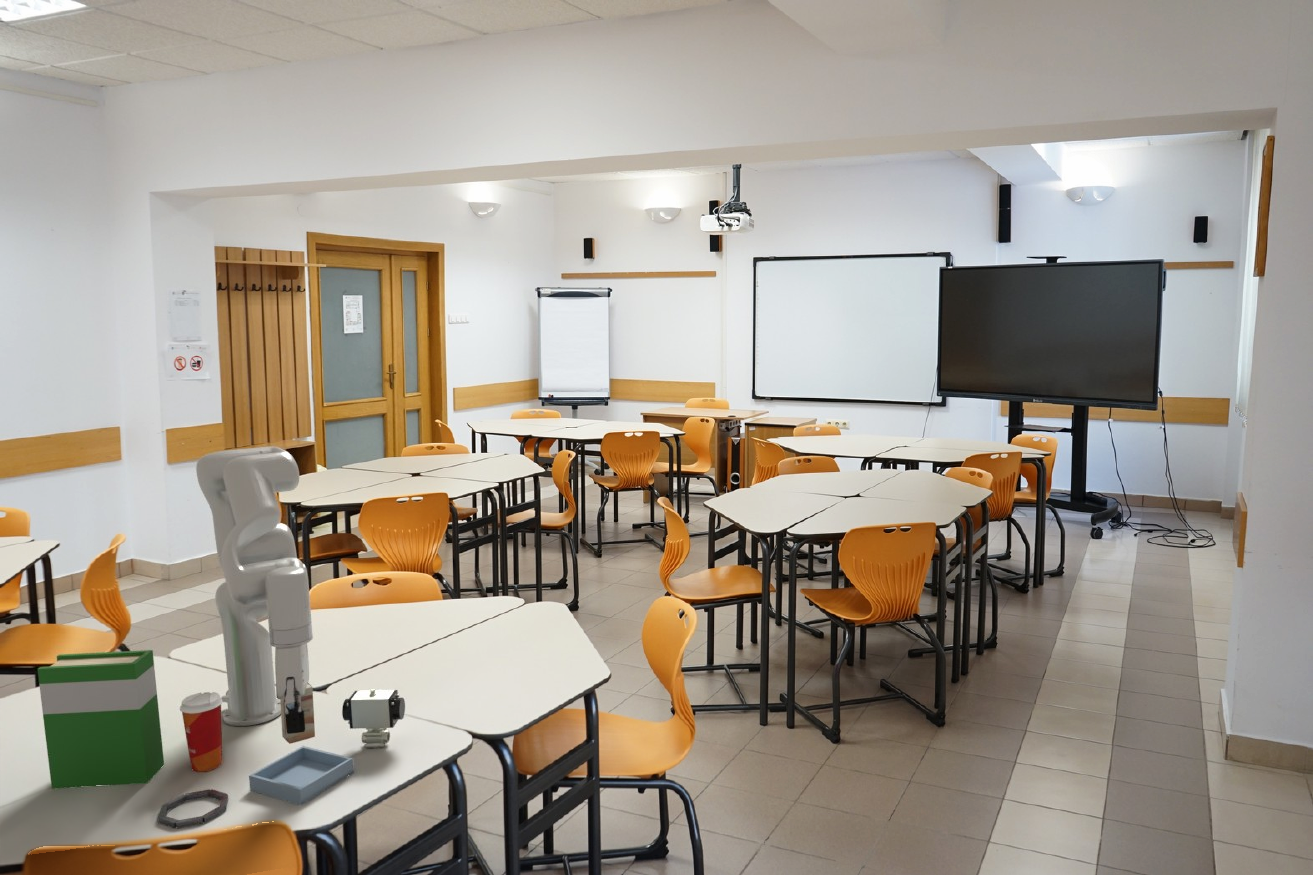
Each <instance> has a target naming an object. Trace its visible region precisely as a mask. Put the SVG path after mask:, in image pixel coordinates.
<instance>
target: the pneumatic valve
mask: <svg viewBox="0 0 1313 875" xmlns="http://www.w3.org/2000/svg"><path fill="white" fill-rule="evenodd" d="M341 711H342V712H341V715H342V719H343V721H346V722H347V721H348V722H347V724H348V725H349V729H350V730H351V729H352V730H353V729H365V730H364V731H363V732H362V734H361V742H362V744H364V745H363V746H364V748H366V749H374V748H375V749H380V748H384V747H385V744H388V743H389V742H390V739H391V732H390V731H389V730H387V729H391V728H392V729H393V728H394V727H395V726H396V724H397V723H398V721H399V720H403V719H404V717H405V714H406V713H405V712H406V702H405V698H404V697H400V694H399V692H398V689H381V688H380V689H378V690H377V689H376V688H373V689H369V690H354V692H353V693H352V694H351V695H350V697H349V698H345V700H343V704H342V709H341Z"/></svg>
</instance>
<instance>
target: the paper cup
mask: <svg viewBox="0 0 1313 875" xmlns="http://www.w3.org/2000/svg"><path fill="white" fill-rule="evenodd" d="M221 698H222V697H221V695H220V693H218V692H215V691H212V692H210V691H208V692H203V693H202V692H197V693H194V694H192V695H191V694H190V695H188V696H186V697H185V698H184V699H183V700H181V705H180V707H179V710H180V712H182V713H181V714H182V721H183V726H184V727H183V728H184V732H185V739H186V744H187V751H188V756H189V762H190V768H191V769H192V771H193V772H197V773H203V772H204V773H205V772H210V771H213V770H215V769H217V768H219V767H220V766H221V765H223V728H222V727H223V726H222V725H223V724H222V720H223V719H222V703H224V702H223V700H222V699H221ZM209 770H210V771H209Z"/></svg>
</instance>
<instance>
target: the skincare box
mask: <svg viewBox="0 0 1313 875" xmlns="http://www.w3.org/2000/svg"><path fill="white" fill-rule="evenodd" d="M313 688H314V687H313V686H312V685H311V684H310V683H309V682H308V684H307V688H306V692H305V694H304V695H303V696H302V711H303V710H304V719H305V731H304V732H300V733H292V734H288V733H287V729H286V717H285V713H286V708H285V694H284V696H283V698H281V699H280V702H281V714H280V718H281V734H282V735H281V736H282V738H283V739H284V740H285V742H286V743H288V744H289V745H291V744H294V743H295V744H296V743H298V742H303V741H305V740H308V739H312V738H315V737H316V729H315V728H316V727H315V711H314V710H315V709H314V693H313V692H314V690H313ZM297 695H299V692H296V693H295V696H297ZM295 702H297V703H298V699H295Z"/></svg>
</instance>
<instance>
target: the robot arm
mask: <svg viewBox="0 0 1313 875" xmlns="http://www.w3.org/2000/svg"><path fill="white" fill-rule="evenodd" d="M298 466H299V465H298V464H297V462H296V460H295V458H294V457H293V455H292V454H290V452H289V451H287V450H285V449H283V448H281V447H278V446H261V447H249V448H240V449H239V448H237V449H225V450H220V451H214V452H211V453H207V454H204V455H203V456H201V457H200V458H199V459H198V460H197V463H196V468H195V470H196V477H197V481H198V482H197V483H198V486H199V487H200V490H201V492H202V494H203V496H204V497H205V500H206V501H207V504H208V505H209V508H210V511H211V514H212V515H211V516H212V521H213V522H212V523H213V530H214V531H213V532H214V537H215V538H214V539H215V545H216V553H217V559H218V562H219V566H220V567H221V568H222V572H223V575H224V579H225V581H224V582H223V583H221V584H220V585H219V586H218V587H217V589H216V591H215V604H216V608H217V613H218V616H219V619H220V624H221V629H222V636H223V645H224V657H225V663H226V664H225V665H226V668H225V669H226V679H227V690H226V692H225V695H222V696H221V697H220V698H221V699H222V700H223V702H222V703H227V709H226V710H225V711H224V712H223V714H222V718H223V719H222V720H223V722H224V723H225V724H227V725H230V726H235V727H236V726H237V727H243V726H244V727H248V726H255V725H258V724H264V723H266V722H268V721H271V720H273V719H276V718H277V717H279V716H281V702H280V699H281V698H283V696H284V694H285V708H286V713H285V717H286V729H287V733H288V734H292V733H300V732H304V731H305V719H304V710H303V711H302V696H303V695H304V694H305V692H306V688H307V684H308V683H309V682H310V661H309V650H308V649H309V648H308V643H310V642H312V640H313V637H314V635H313V624H312V609H311V600H310V597H311V596H310V588H309V587H310V586H309V576H308V569H307V567H306V565H305V563H303V562H302V561H301V560H300V559H299V558H298V556H297V555H298V554H297V549H296V543H295V542H296V541H295V538H294V535H293V533H292V530H291V528H290V527H289V526H288V525H286V524H285V523H283V522H281V518H282V514H281V513H282V512H281V510H280V507H279V504H278V501H277V496H276V493H284V492H292V491H294V490H295V489H297V488H298V486H299V483H300V471H299V467H298ZM265 617H267V622H268V630H267V628H265V627H264V626H263V625H262V624H261V623H259V622H258V621H257V620H258V619H262V618H265ZM272 647H274V648H275V649H274V650H275V651H274V652H275V653H274V661H273V648H272ZM274 666H275V667H274ZM274 668H275V669H274ZM296 692H299V695H297V696H295V693H296ZM295 699H298V703H297V702H295Z"/></svg>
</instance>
